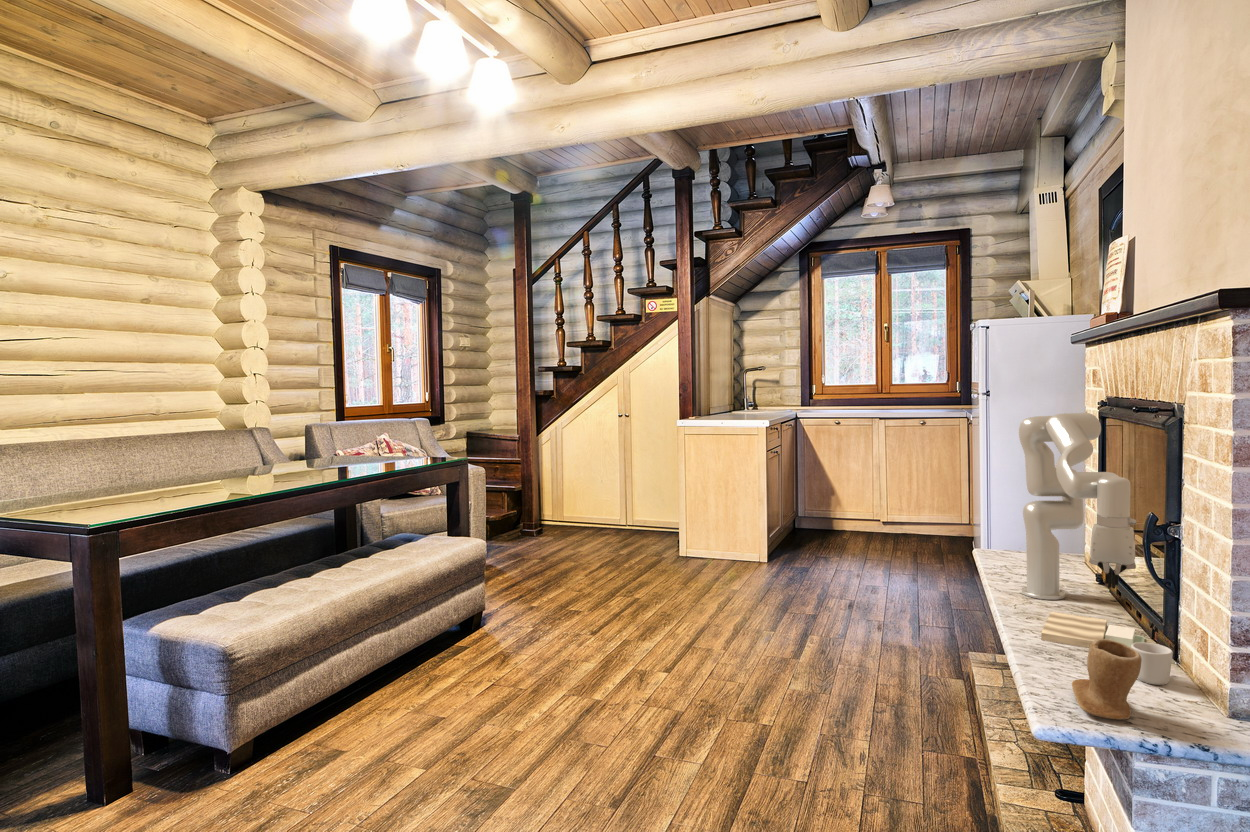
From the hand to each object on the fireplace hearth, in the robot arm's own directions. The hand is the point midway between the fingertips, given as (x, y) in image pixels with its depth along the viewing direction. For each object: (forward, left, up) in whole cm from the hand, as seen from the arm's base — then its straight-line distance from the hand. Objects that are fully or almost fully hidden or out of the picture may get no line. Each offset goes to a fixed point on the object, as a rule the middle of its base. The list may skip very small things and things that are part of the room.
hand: (1111, 586), depth 197 cm
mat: (+5, +3, -14) cm, 15 cm away
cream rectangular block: (+1, +2, -14) cm, 14 cm away
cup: (+27, +9, -15) cm, 32 cm away
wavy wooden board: (+1, -9, -14) cm, 17 cm away
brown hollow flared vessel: (+51, +1, -15) cm, 53 cm away
